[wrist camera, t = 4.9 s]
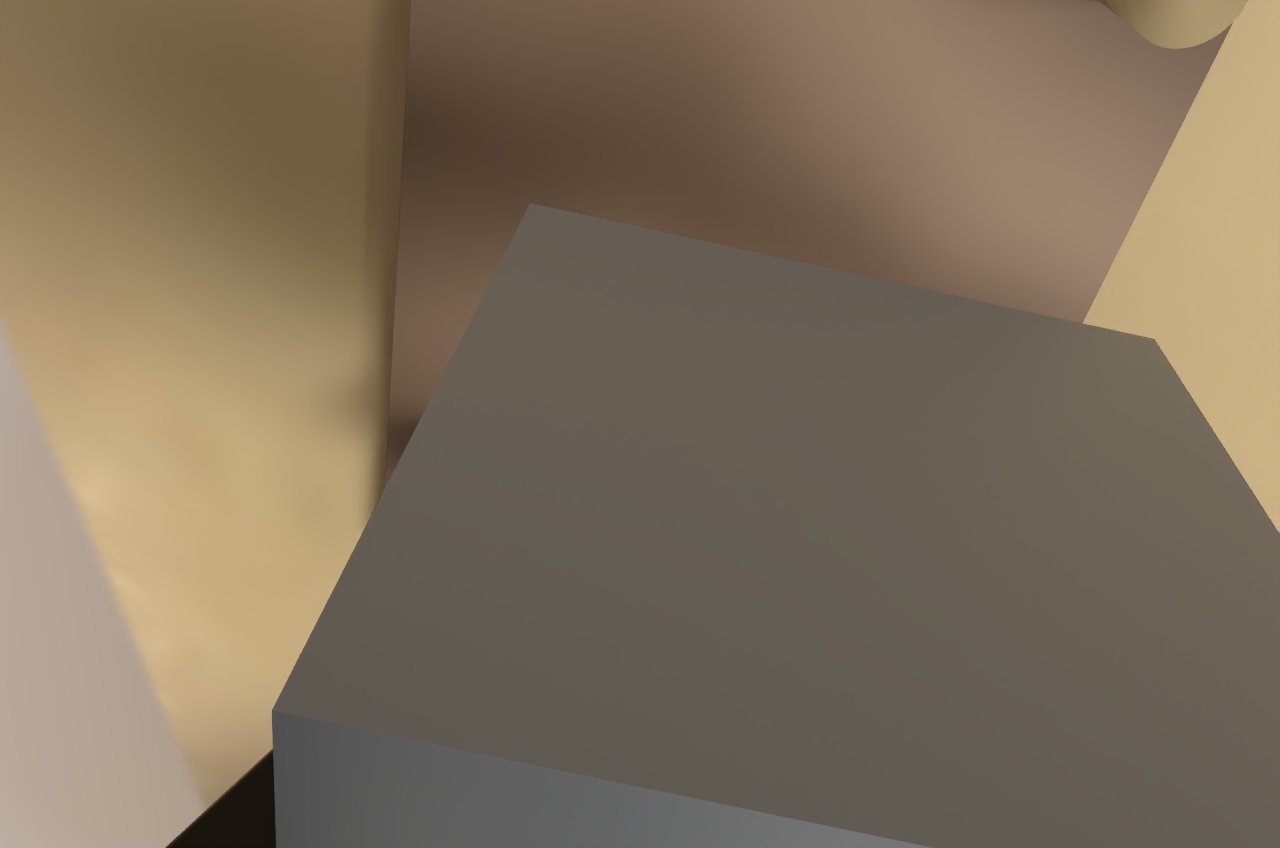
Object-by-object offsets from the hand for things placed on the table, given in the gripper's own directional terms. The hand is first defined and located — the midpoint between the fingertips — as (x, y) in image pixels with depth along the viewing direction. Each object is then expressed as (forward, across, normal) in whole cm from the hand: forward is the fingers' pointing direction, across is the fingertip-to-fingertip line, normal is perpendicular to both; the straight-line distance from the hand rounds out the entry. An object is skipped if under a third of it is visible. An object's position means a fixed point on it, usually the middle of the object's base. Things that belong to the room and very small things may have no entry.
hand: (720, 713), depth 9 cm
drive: (+1, 0, 0) cm, 1 cm away
